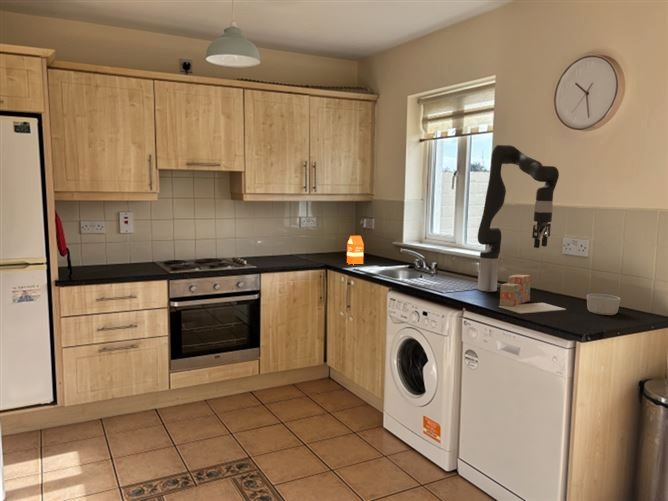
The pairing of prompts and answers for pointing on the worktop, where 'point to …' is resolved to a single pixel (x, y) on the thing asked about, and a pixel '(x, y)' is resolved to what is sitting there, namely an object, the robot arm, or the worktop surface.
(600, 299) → the ramekin
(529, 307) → the mat
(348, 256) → the orange juice
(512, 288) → the stack of blocks
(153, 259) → the worktop surface
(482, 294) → the worktop surface
